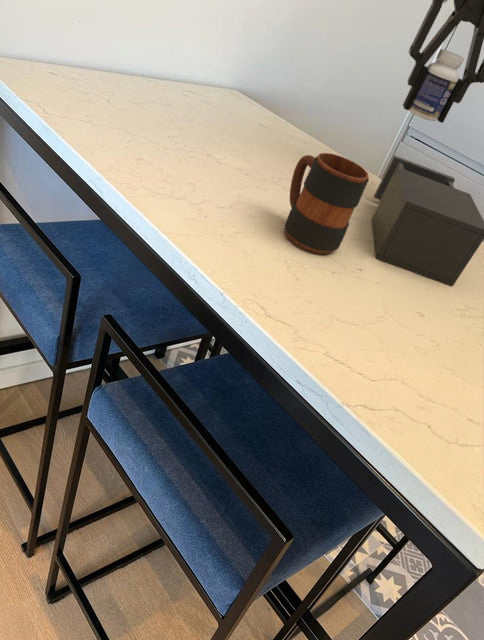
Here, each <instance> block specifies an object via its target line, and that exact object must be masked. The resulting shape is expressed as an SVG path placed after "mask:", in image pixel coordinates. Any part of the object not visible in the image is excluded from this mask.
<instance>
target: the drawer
mask: <svg viewBox="0 0 484 640" xmlns="http://www.w3.org/2000/svg"><path fill="white" fill-rule="evenodd" d="M398 167H399V168H402V169H404V170H407V171H410V172H412V173H415V174H418V175H420V176H423V177H426V178H428V179H431V180H434V181H436V182H439V183H442V184H445V185H447V186H450V187H453V188H455V186H454V183H455V181H456V179H455V177H454V176H451V175H448V174H445V173H443V172H440V171H437V170H435V169H433V168H429V167H427V166H424V165H421V164H419V163H416V162H414V161H411V160H409V159H405V158H402V157H400V156H398V155H393V157H392V159H391V161H390V162H389V164H388V167H387V169H386V170H385V173H384V174H383V176H382V178H381V180H380V182H379V184H378V187H377V189H376V190H375V192H374V194H373V198H374V199H376V200H378V202H379V203H380V201H381V199H382V198H383V196H384V194H385V192H386V190H387V188H388V186H389V184H390V182H391V180H392V178H393V176H394V174H395V172H396V170H397V168H398Z"/></svg>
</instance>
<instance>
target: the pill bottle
mask: <svg viewBox="0 0 484 640" xmlns="http://www.w3.org/2000/svg"><path fill="white" fill-rule="evenodd" d="M464 60H465V58H464V57H463V56H462V55H460V54H457V53H454V52H452V51H449V50H446V49H443V48H440V50H439V51H438V53H437V57H436V61H435V62H431V63H429V64H428V65H427V66H426V67H427V68H428V71H427V73H426V75H425V77H424V79H423V81H422V83H421V85H420V87H419V89H418V92H417V94H416V96H415V98H414V100H413V102H412V104H411V106H410V108H409V110H408V112H410V114H412V115H414V116H416V117H418V118H421V119H424V120H426V121H430V122H436V121H438V118H439V116H440V114H441V112H442V110H443V108H444V107H445V105H446V103H447V101H448V99H449V97H450V95H451V93H452V91H453V89H454V87H455V85H456V84H457V81H458V79H460V74H459V72H458V69H459V68H461V66H462V64H463V62H464Z"/></svg>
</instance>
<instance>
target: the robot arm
mask: <svg viewBox="0 0 484 640" xmlns="http://www.w3.org/2000/svg"><path fill="white" fill-rule="evenodd" d="M447 2H448V0H432V2H431V4H430V6H429V8H428V11H427V12H426V15H425V16H424V19H423V20H422V23H421V25H420V27H419V28H418V31H417V32H416V35H415V37H414V39H413V40H412V43H411V45H410V47H409V49H408V55H409V56H410V57H411V58H412V59H413V61H414V65H413V68H412V70H411V72H410V74H409V75H408V78H407V86H410V88H409V91H408V94H407V95H406V97H405V100H404V102H403V104H402V106H403V109H404V110H405V111H409V108H410V106H411V104H412V102H413V100H414V98H415V96H416V94H417V92H418V89H419V87H420V85H421V83H422V81H423V79H424V77H425V75H426V73H427V71H428V68H427V67H428V66H427V63H428V62H429V61H430V60H431V58H432V57H433V56H434V54H435V53H436V52H437V51H438V49H440V47H441V46H442V45H443V43H444V42H445V41H446V39H448V37H449V35H451V33H452V32H453V31H454V29H455V28H456V27H457V26H459V24H460V23H461V22H464V23H470V24H471V25H473V26H474V27H473V34H472V38H471V42H470V46H469V49H468V54H467V59H466V62H465V65H464V70H463V74H462V77H461V78H459V79H458V81H457V84H456V85H455V87H454V89H453V91H452V93H451V95H450V97H449V99H448V101H447V103H446V105H445V107H444V108H443V110H442V112H441V114H440V116H439V118H438V119H437V122H439V123H441V124H444V121H445V120H446V118H447V116H448V114H449V112H450V110H451V108H452V107H453V105H454V103H455V104H460V103H461V102H462V101H463V98H464V97H465V94H466V92H467V91H468V89H469V88H470V86H471V85H473V84H474V83H480V84H483V83H484V58H483V59H482V61H481V64H480V66H479V67H478V63H479V59H480V55H481V51H482V48H483V43H484V0H453V6H454V10H453V11H452V12H451V13H450V14H449V16H448V17H447V19H446V21H445V22H444V23H443V24H442V26H441V27H440V28H439V30H438V31H437V32H436V34H435V35H434V36H433V37H432V39H431V40H430V41H429V43H427V45H426V46H425V47H424V48H423V50H422V47H423V46H424V44H425V41H426V40H427V37H428V35H429V34H430V31H431V29H432V27H433V25H434V23H435V21H436V19H437V17H438V16H439V14H440V12H441V9H442V7H443V4H444V3H445V4H446V3H447ZM421 50H422V51H421ZM420 51H421V52H420ZM477 67H478V69H477Z"/></svg>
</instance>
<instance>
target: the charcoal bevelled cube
mask: <svg viewBox="0 0 484 640" xmlns="http://www.w3.org/2000/svg"><path fill="white" fill-rule="evenodd" d="M376 207H377V208H376V209H375V211H374V212H373V216H372V217H371V219H370V222H371V229H372V238H373V248H374V255H375V259H376V260H379V261H382V262H384V263H387V264H391V265H392V266H395V267H398V268H401V269H404V270H407V271H408V272H409V271H410V272H412V273H414V274H418V275H421V276H423V277H426V278H428V279H431V280H433V281H437V282H439V283H442V284H444V285H447V286H450V287H454V285H455V284H456V282H457V280H458V279H459V278H460V276H461V274H462V273H463V272H464V270H465V268H466V267H467V266H468V264H469V263H470V261H471V259H472V258H473V256H474V255H475V254H476V252H477V251H478V249H479V247H480V246H481V244H482V243H483V242H484V218H483V217H482V214H481V213H480V211H479V209H478V207H477V205H476V203H475V200H474V199H473V197H472V194H471V193H468V192H466V191H463V190H461V189H458V188H455V187H454V188H453V187H450V186H447V185H445V184H442V183H439V182H436V181H434V180H431V179H428V178H426V177H423V176H420V175H418V174H415V173H412V172H410V171H407V170H404V169H402V168H399V167H398V168H397V170H396V172H395V174H394V176H393V178H392V180H391V182H390V184H389V186H388V188H387V190H386V192H385V194H384V196H383V198H382V199H381V201H380V203H379V204H378V205H377V206H376Z"/></svg>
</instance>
